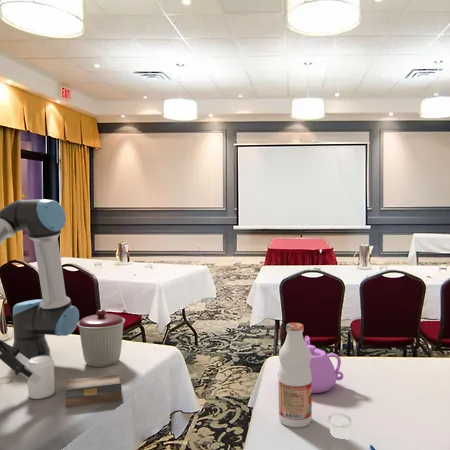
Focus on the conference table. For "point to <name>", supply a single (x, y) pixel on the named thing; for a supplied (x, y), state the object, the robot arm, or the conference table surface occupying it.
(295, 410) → the fruit juice
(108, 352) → the canister
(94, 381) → the shelf board
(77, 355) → the conference table surface
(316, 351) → the teapot
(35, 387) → the beverage can
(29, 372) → the robot arm
